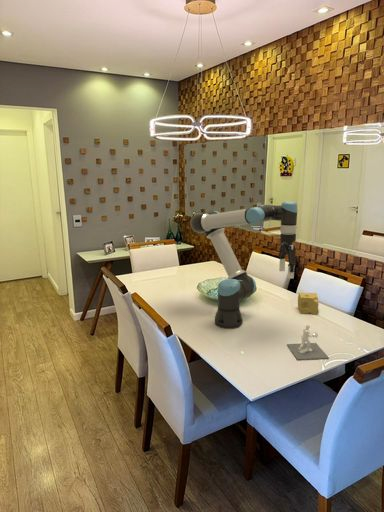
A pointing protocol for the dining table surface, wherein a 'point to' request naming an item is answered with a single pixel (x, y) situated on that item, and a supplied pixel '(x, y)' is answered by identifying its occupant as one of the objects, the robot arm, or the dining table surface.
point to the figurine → (305, 338)
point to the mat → (308, 355)
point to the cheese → (308, 303)
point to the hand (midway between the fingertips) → (286, 274)
